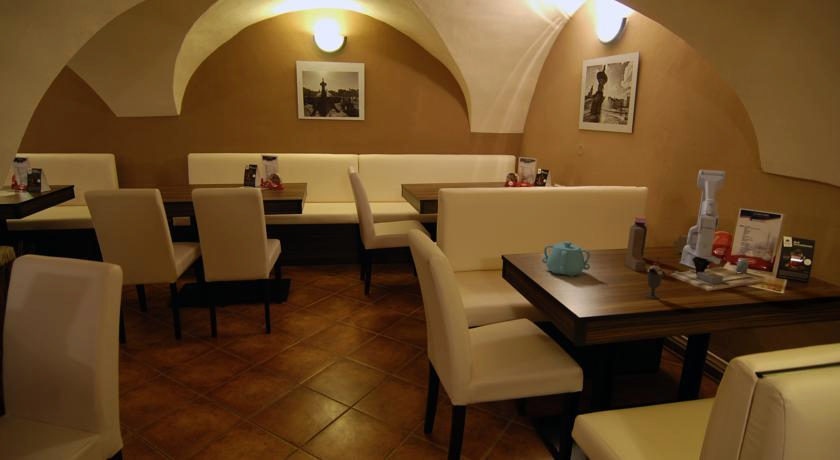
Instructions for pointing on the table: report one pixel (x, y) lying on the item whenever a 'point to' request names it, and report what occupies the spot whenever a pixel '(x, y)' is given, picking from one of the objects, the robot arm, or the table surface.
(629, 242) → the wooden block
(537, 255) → the table surface
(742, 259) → the marker peg
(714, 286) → the board
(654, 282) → the sundae
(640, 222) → the bottle
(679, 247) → the wooden carving
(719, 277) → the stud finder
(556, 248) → the decorative pot
